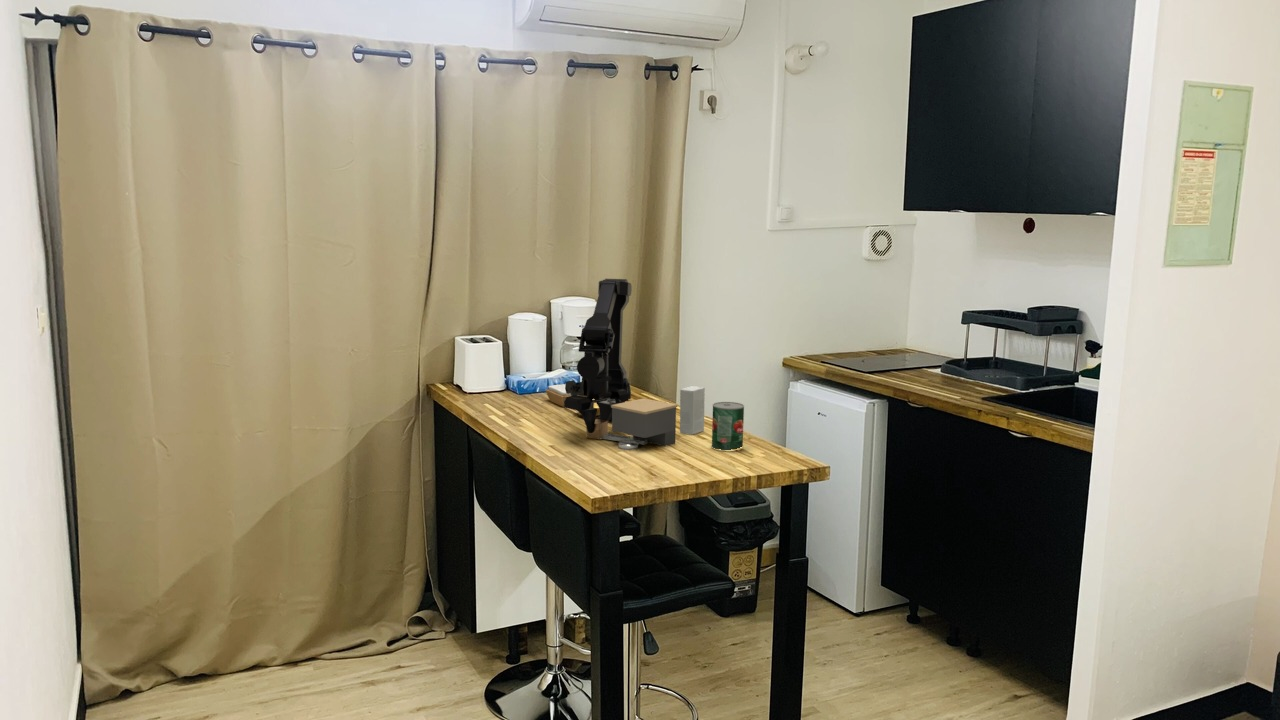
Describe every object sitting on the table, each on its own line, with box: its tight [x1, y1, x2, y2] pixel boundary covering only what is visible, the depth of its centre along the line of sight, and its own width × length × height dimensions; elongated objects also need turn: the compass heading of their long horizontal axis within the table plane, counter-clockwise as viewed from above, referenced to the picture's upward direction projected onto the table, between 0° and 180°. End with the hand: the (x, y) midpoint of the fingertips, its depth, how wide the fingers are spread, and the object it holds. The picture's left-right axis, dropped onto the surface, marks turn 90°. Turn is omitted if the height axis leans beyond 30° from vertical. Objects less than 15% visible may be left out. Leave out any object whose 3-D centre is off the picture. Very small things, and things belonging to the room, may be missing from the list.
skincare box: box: [679, 385, 706, 436], centre depth 263 cm, size 6×4×12 cm
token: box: [618, 441, 639, 451], centre depth 246 cm, size 5×5×1 cm
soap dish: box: [545, 383, 586, 408], centre depth 298 cm, size 12×10×5 cm
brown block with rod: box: [585, 418, 649, 446], centre depth 252 cm, size 4×17×4 cm, turn 57°
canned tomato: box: [711, 401, 745, 450], centre depth 247 cm, size 8×8×11 cm
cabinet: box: [611, 398, 678, 447], centre depth 249 cm, size 12×11×10 cm
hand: (596, 431), depth 255 cm, fingers closed on brown block with rod, 4 cm apart
